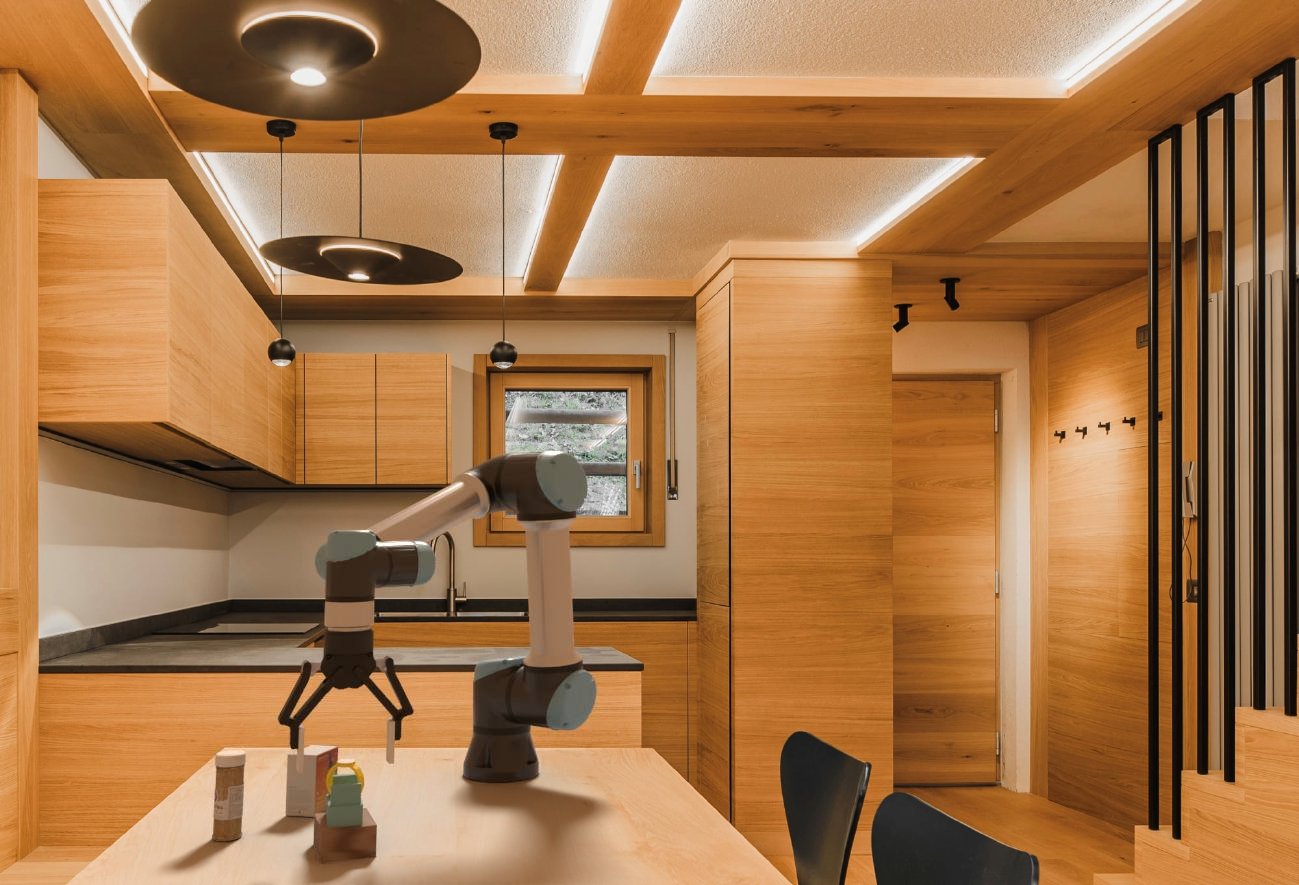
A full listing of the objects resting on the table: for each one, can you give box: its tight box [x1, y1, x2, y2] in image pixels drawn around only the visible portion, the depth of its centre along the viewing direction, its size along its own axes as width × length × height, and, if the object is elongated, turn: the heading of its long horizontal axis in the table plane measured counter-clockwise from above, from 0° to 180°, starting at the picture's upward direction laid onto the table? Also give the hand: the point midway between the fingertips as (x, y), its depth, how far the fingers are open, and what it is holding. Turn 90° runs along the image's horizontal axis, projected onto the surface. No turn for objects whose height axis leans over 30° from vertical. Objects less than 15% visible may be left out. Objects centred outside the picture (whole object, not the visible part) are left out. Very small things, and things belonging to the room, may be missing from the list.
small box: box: [285, 744, 339, 818], centre depth 179 cm, size 8×6×10 cm
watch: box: [326, 758, 365, 795], centre depth 158 cm, size 6×3×6 cm, turn 73°
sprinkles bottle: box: [211, 749, 247, 842], centre depth 163 cm, size 5×5×14 cm
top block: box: [325, 772, 364, 828], centre depth 157 cm, size 5×8×6 cm, turn 20°
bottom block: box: [312, 807, 378, 865], centre depth 157 cm, size 8×10×5 cm
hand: (345, 766), depth 158 cm, fingers open, 13 cm apart
